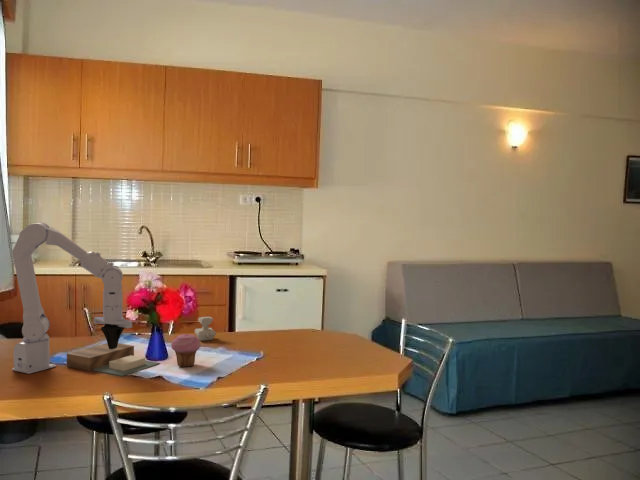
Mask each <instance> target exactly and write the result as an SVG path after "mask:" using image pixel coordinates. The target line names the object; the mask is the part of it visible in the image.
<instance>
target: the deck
mask: <svg viewBox="0 0 640 480" xmlns="http://www.w3.org/2000/svg"><path fill="white" fill-rule="evenodd" d="M130 355H132V356H135V346H134V345H133V344H132V345H130V344H125V343H119V342H118V345H117V348H115V349H109V347H108V344H107V342H106V343H103V344H99V345H95V346H91V347H88V348H84V349H79V350H76V351H72V352H68V353H66V367H69V368H72V369H76V370H77V369H78V370H83V371H86V372H87V371H88V372H90V371H92V372H93V370H92V369H95V368H99V367H102V366H106V365H109V362H110V361H113V360H117V359H120V358H123V357H127V356H130Z"/></svg>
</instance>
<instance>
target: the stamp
mask: <svg viewBox="0 0 640 480" xmlns="http://www.w3.org/2000/svg"><path fill="white" fill-rule="evenodd" d="M213 320H214V318H213V317H211V316H201V317H200V316H198V320H197V321H198V322H199V323H200V325H201V326H202V327H200V328H195V329H194V334H195V336H196V337H197V338H198V339H199V340H200V342H201V341H202V342H205V341H206V342H207V341H212V340H213V339H214V338H215V336H216V335H217V334H216V333H217V332H216V330H214V329H213V328H212V327H209V325H211V324H212V322H213Z"/></svg>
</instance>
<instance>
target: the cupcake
mask: <svg viewBox="0 0 640 480" xmlns="http://www.w3.org/2000/svg"><path fill="white" fill-rule="evenodd" d="M200 348H201V340H200V339H199V338H198V337H197V336H196V335H194V334H190V333H189V334H188V333H183V334H179V335H178V336H176V337H175V338H174V339H173V340H172V342H171V349H172V350H173V351H174V352H175V356H176V364H177V366H178V367H180V368H181V367H182V368H183V367H194V366H195V362H196V354H197V351H198V350H199V349H200Z"/></svg>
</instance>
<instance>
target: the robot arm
mask: <svg viewBox="0 0 640 480" xmlns="http://www.w3.org/2000/svg"><path fill="white" fill-rule="evenodd" d="M18 235H19V236H18V238H17V240H16V242H15V244H14V246H13V249H12V251H11V253H12V259H13V263H14V268H15V269H14V270H15V273H16V279H17V284H18V288H19V289H18V290H19V293H20V298H21V302H22V303H21V304H22V307H23V314H22V321H23V325H22V328H21V334H22V337H23V338H22V341H20V342H18V343H16V344H15V345H14V347H13V368H11V371H15V372H19V373H24V374H33V373H37V372H41V371H45V370H49V369H51V368H55V367H57V365H56V364H53V363H50V335H48V333H47V332H48V331H49V329H50V326H51V325H50V324H51V323H50V320H49V318H48V317H47V315H45V314H46V313H45V310H44V308H43V306H42V302H41V298H40V293H39V288H38V282H37V277H36V271H35V267H34V262H33V257H32V255H33V254H34V253H35V252H36V250H37V249H38V248H39V246H41V245H43V244H45V245H47V246H48V245H49V246H57V247H59V248H60V249H62V250H64V251H65V252H67V253H68V254H69V255H70V256H72V257H74V258H76V259H78V260H79V262H80V266H81V268H83V269H85V270H86V271H87V272H89V273H90V274H92V275H93V276H95V278H98V279H101V280H102V283H103V291H102V316H95V317H93V324H96V325H98V324H99V325H100V324H101V325H104V326H101V327H100V331H102V333H103V336H104V337H105V340H106V343H107V344H108V347H109V349H115V348H117V345H118V343H119V341H120V340H119V339H120V338H121V335H122V333H123V331H125V330H124V329H126V330H127V329H132V328H133V321H132V320H128V319H125V317H123V290H122V289H123V284H122V283H123V282H122V281H123V278H124V275H123V271H122V270H121V269H120V268H119V266H118V265H114V262H112V261H110V262H109V261H108V260H106V259H105V258H103V257H102V256H101V253H100V252H98V251H97V252H95V251H93V250H92V251H86V250H85V249H83V248H82V247H80V246H79V245H78V244H77V243H75V242H74V241H72V240H71V239H70V238H69V237H68V236H66V235H65V234H63V233H62V232H60V231H59V230H58V229H55V228H54V227H51V226H49V225H48V224H46V223H45V222H41V221H39V222H35V223H30V224H28V225H26V226H25V227H24V228H23V229H22V230H21V231H20V232H19V234H18Z"/></svg>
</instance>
